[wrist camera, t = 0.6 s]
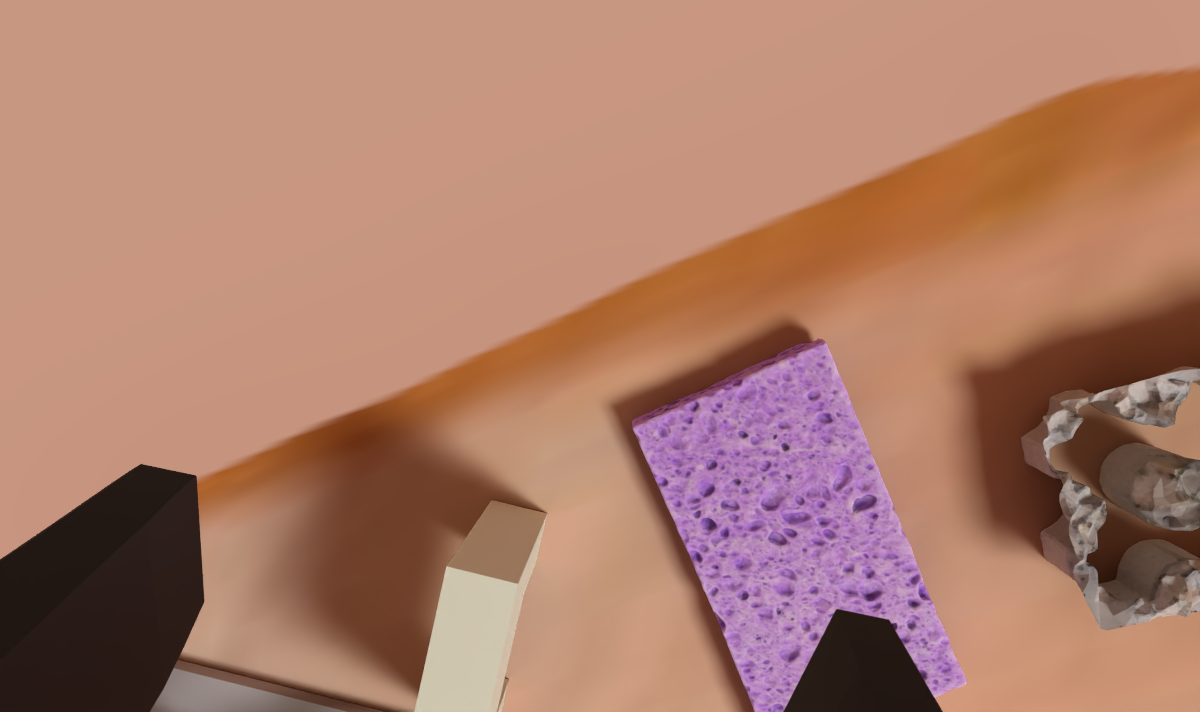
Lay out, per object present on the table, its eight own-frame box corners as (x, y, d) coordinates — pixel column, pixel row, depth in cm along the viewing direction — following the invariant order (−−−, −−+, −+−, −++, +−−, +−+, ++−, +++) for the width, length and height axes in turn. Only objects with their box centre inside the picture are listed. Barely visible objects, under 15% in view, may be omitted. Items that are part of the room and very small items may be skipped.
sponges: (766, 733, 32) (774, 761, 30) (627, 412, 31) (626, 422, 29) (953, 662, 32) (972, 687, 30) (817, 333, 31) (828, 338, 29)
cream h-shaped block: (498, 726, 32) (456, 853, 25) (443, 712, 32) (387, 835, 25) (547, 513, 31) (518, 584, 24) (491, 499, 31) (446, 566, 24)
